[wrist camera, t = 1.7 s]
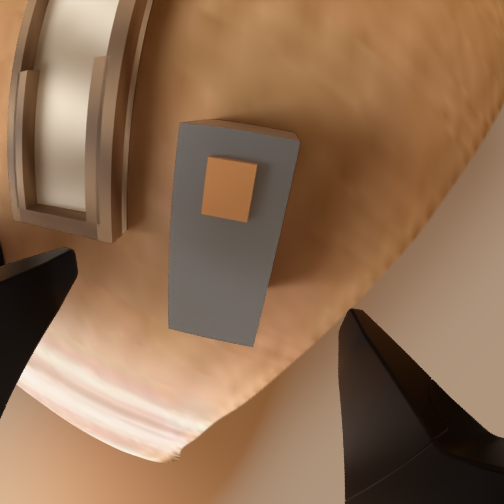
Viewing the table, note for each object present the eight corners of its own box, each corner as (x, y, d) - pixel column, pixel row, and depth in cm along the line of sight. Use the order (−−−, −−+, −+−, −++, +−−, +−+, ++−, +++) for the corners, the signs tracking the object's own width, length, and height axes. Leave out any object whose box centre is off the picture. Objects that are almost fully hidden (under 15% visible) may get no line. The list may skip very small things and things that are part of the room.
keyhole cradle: (126, 230, 16) (112, 243, 15) (29, 210, 16) (13, 219, 15) (179, -77, 7) (169, -90, 6) (63, -46, 7) (49, -52, 6)
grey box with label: (261, 287, 17) (252, 351, 13) (195, 273, 17) (166, 332, 13) (294, 132, 13) (301, 142, 8) (213, 119, 13) (177, 123, 9)
